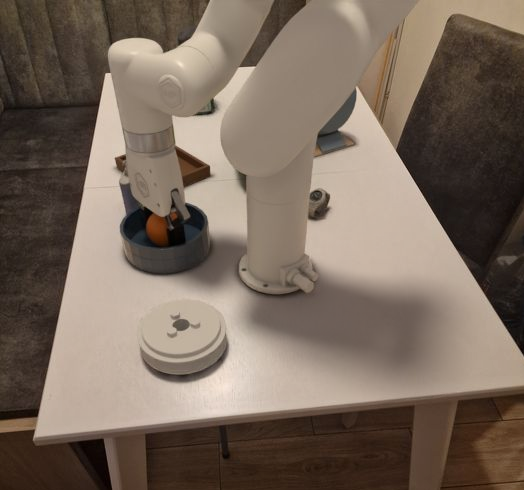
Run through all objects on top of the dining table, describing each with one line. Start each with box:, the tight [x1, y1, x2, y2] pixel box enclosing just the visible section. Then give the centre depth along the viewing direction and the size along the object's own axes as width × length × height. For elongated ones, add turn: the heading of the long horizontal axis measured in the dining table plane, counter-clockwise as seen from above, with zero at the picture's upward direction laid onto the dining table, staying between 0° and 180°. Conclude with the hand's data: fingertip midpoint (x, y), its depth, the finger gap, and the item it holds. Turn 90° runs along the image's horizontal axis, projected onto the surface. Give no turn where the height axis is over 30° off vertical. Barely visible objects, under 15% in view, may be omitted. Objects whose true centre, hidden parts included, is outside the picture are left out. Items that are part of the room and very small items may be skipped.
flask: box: [118, 160, 141, 216], centre depth 91 cm, size 9×3×11 cm, turn 172°
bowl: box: [119, 201, 211, 275], centre depth 86 cm, size 15×15×5 cm
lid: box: [136, 298, 228, 375], centre depth 70 cm, size 13×13×5 cm
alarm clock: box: [314, 87, 358, 158], centre depth 110 cm, size 14×10×18 cm
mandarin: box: [146, 213, 177, 247], centre depth 85 cm, size 6×6×6 cm
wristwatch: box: [308, 187, 331, 219], centre depth 94 cm, size 4×6×5 cm, turn 143°
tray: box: [114, 144, 212, 188], centre depth 106 cm, size 17×14×2 cm
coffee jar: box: [177, 25, 215, 115], centre depth 124 cm, size 10×8×19 cm
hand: (166, 235), depth 86 cm, fingers closed on mandarin, 6 cm apart
